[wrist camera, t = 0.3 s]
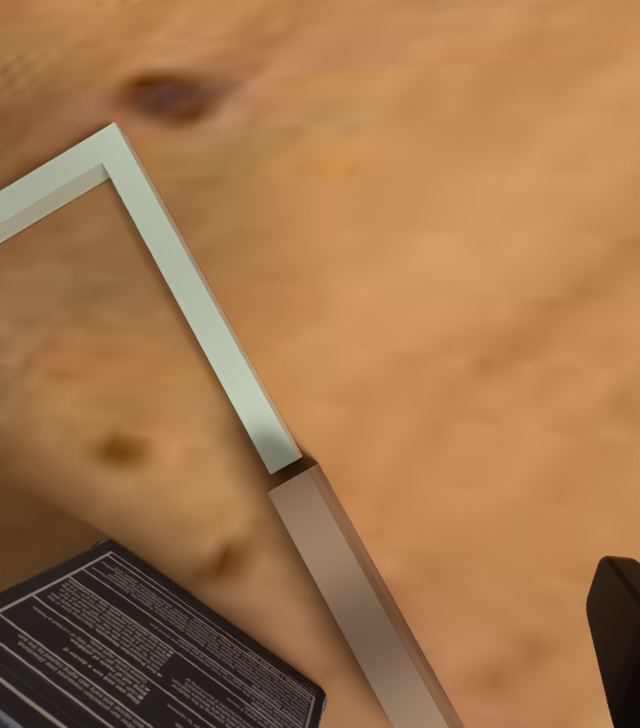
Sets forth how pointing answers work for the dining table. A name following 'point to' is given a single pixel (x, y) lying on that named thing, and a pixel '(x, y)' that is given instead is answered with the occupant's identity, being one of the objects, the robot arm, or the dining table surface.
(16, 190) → the frame
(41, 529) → the dining table surface
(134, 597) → the small box
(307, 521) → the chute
